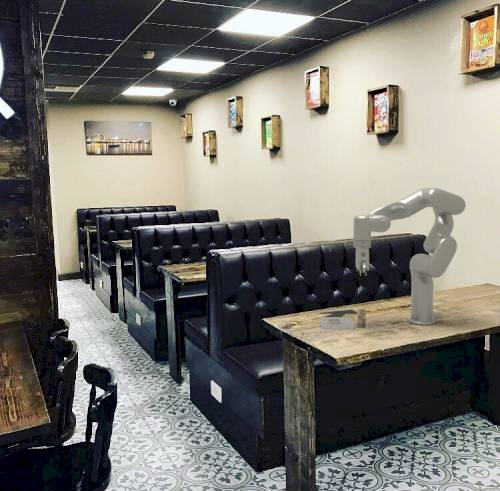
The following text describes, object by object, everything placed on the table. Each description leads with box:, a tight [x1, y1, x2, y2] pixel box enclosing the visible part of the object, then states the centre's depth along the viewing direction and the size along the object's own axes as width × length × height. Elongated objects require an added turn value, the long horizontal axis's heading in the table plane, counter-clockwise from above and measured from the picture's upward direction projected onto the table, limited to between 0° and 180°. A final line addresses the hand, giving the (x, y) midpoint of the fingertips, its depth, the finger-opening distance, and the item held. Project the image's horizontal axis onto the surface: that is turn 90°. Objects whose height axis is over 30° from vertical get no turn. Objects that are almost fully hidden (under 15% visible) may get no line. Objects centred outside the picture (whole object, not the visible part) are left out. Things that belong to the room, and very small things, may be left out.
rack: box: [319, 316, 370, 330], centre depth 226 cm, size 21×12×4 cm, turn 85°
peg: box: [356, 308, 367, 326], centre depth 225 cm, size 4×4×7 cm
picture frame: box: [314, 308, 357, 317], centre depth 246 cm, size 16×3×21 cm
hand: (361, 282), depth 223 cm, fingers open, 9 cm apart
